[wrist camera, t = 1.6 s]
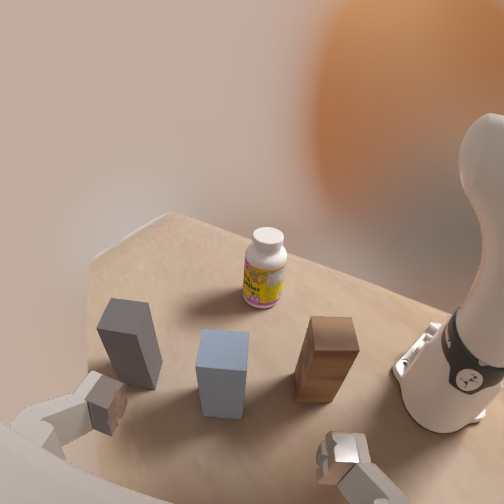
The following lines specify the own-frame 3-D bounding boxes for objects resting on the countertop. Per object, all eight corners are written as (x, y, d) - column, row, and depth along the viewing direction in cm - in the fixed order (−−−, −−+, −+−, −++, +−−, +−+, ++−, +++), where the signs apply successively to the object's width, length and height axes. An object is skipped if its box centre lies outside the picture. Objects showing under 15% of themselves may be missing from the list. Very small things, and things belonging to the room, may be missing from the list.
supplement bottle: (235, 290, 56) (238, 228, 48) (267, 280, 59) (275, 220, 51) (254, 315, 51) (260, 251, 44) (287, 303, 54) (298, 241, 47)
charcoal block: (130, 356, 42) (110, 297, 35) (162, 361, 42) (148, 302, 35) (121, 383, 38) (96, 328, 31) (155, 389, 38) (136, 334, 31)
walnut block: (294, 372, 42) (311, 316, 35) (327, 372, 42) (351, 317, 35) (295, 402, 38) (315, 350, 31) (331, 401, 38) (359, 350, 31)
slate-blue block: (207, 384, 40) (202, 328, 33) (244, 387, 40) (248, 332, 33) (202, 415, 36) (195, 366, 29) (242, 419, 36) (246, 370, 29)
